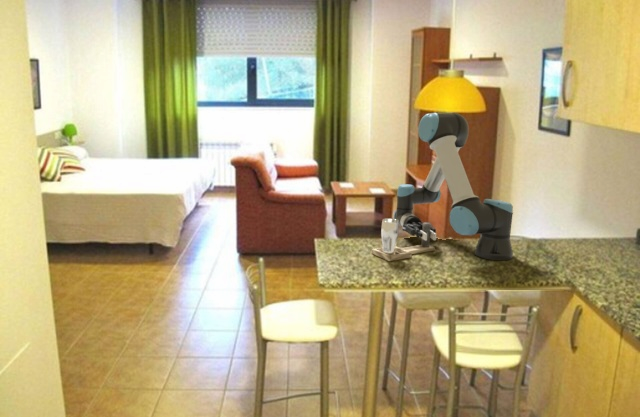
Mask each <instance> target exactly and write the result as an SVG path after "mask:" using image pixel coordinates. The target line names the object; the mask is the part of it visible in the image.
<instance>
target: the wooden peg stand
mask: <svg viewBox="0 0 640 417" xmlns="http://www.w3.org/2000/svg"><path fill="white" fill-rule="evenodd" d="M422 224H423V229H422V231H424V232H425V233H426V234H427V241H425V240H424V239H422V238H421V243H420V244H417V245H411V246H406V247H399V246H397V245H396V254H393V255H388V254H386V253H384V252H382V248H383V246H381V247H377V248H376V247H375V248H371V254H372V255H374V256H376V257H378V258H381V259H383V260H385V261H388V262H391V261H398V260H403V259H408V258H412V255H413V254H421V253H425V252H426V253H427V252H432V251H435V246H433V245H430V239H431V238H430V225H431V226H432V223H431V222H428V221H427V222H426V221H425V222H422Z"/></svg>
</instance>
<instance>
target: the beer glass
mask: <svg viewBox="0 0 640 417" xmlns="http://www.w3.org/2000/svg"><path fill="white" fill-rule="evenodd" d="M381 221H382V222H381V231H380V236H381V242H382V247H383V248H382V252H384V253H386V254H388V255H393V254H397V252H396V246H397V244H398V243H397V242H398V238H399V231H400V225H399V220H397V219H394V218H382V220H381Z"/></svg>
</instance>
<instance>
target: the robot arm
mask: <svg viewBox="0 0 640 417" xmlns="http://www.w3.org/2000/svg"><path fill="white" fill-rule="evenodd" d="M469 128H470V127H469V123H468V121H467V119H466V118H465V116H463V115H461V114H459V113H457V112H443V113H442V112H441V113H440V112H431V113H425V115H423V117H422V118H421V119H420V121H419V124H418V136H419V139H420V140H421V141H422V142H426V143H427V145H428V147H429V149H430V150H432V151H434V152H435V156H436V158H435V159H434V162H433V164H432V165H431V168H430V170H429V172H428V174H427V177H426V178H425V181H424V183H423V185H422V187H415V185H413V184H407V183H403V184H399V185H398V187H397V193H396V197H397V198H396V208H395V209H396V210H394V212H393V219H397V220H399V226H401V227H402V230H401V231H403V232H406V233H407V234H409V235H411V236H413V237H414V236H416V238H418V239H419V238H421V240H422V239H424V240H425V241H427V234H426V233H425V232H424V231H422V229H423V222H422V220H421V219H420V218H419V217H417V216H416V215H415V214H413V212H414V205H422V204H423V205H424V204H433V203H438V202H439V201H440V199H441V195H442V193H441V190H440V188H441V187H442V184H443V183H444V181H445V182H446V185H447V189H448V191H449V194H450V196H451V199H452V203H451V206H450V208H451V210H450V212H449V218H448V219H449V223H450V226H451V227H452V229H453V231H454V232H455V233H457V234H458V235H460V236H475V235H478V234H479V235H480V237H479V239H478V240H477V244H476V246H475V248H474V255H475V256H477V257H479V258H482V259H485V260H490V261H508V260H512V259H513V256H514V250H513V248H512V243H511V230H512V223H513V215H514V212H513V211H514V210H513V208H514V206H513V205H512V203H510V202H508V201H504V200H499V199H495V198H494V199H493V198H491V199H490V198H485V199H483V203H482V201H481V199H480V197H479V196H478V195H475V194H474V190H473V189H472V186H471V183H470V181H469V178H468V176H467V172H466V170H465V167H464V165H463V162H462V160H461V156H460V154H459V151H460V149H461V148H464V147H465V145H466V143H467V141H468V138H469V133H470V132H469V131H470V129H469ZM436 230H437V229H436V228H435V227H434V226H433V225H432V224H431V225H430V239H431V240H433V241H436V240H437V231H436Z"/></svg>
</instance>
